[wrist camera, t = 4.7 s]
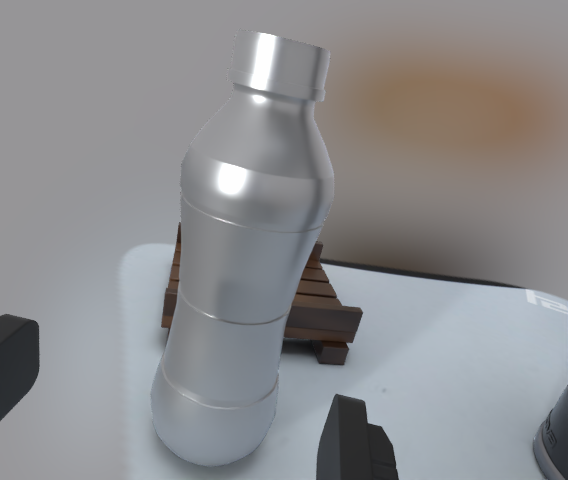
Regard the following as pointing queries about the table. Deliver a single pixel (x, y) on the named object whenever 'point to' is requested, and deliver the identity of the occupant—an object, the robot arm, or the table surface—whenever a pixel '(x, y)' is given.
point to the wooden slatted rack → (297, 309)
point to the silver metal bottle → (243, 250)
